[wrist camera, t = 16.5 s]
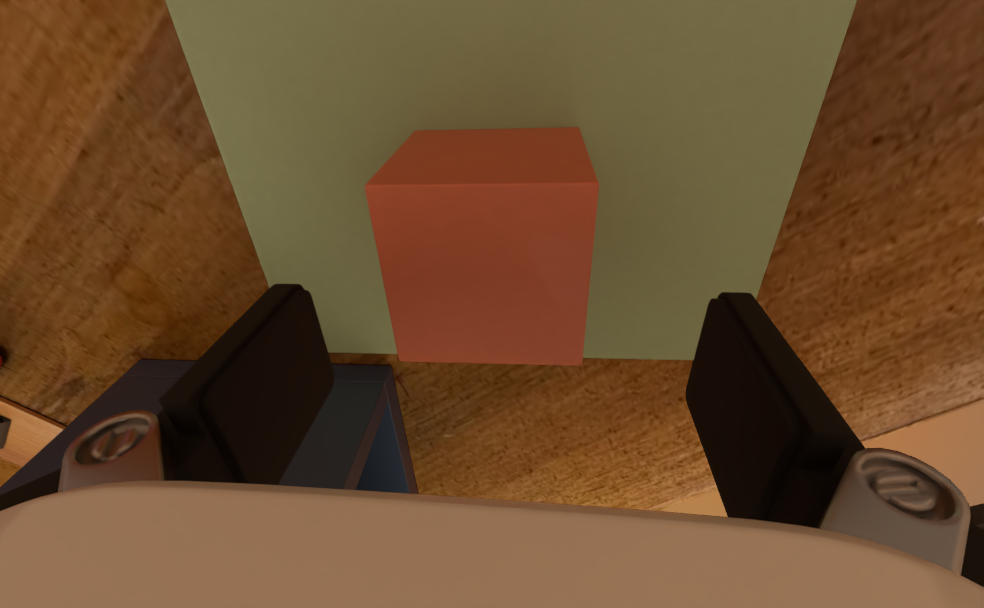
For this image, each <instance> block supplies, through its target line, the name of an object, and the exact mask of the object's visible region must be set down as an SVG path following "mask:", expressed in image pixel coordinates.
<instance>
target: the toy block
mask: <svg viewBox="0 0 984 608" xmlns="http://www.w3.org/2000/svg"><path fill="white" fill-rule="evenodd" d="M365 192H366V197H367V202H368V207H369V212H370V217H371V222H372V227H373V232H374V237H375V242H376V247H377V252H378V258H379V263H380V268H381V273H382V278H383V283H384V288H385V293H386V298H387V303H388V308H389V313H390V318H391V323H392V329H393V334H394V339H395V344H396V349H397V354H398V359H399V361H400V362H441V363H485V364H529V365H573V366H581V365H582V360H583V349H584V339H585V328H586V318H587V307H588V297H589V286H590V276H591V265H592V255H593V244H594V234H595V223H596V213H597V202H598V192H599V182H598V179H597V177H596V174H595V171H594V168H593V165H592V163H591V160H590V157H589V154H588V151H587V148H586V146H585V143H584V140H583V137H582V134H581V132H580V129H579V127H561V128H513V129H466V130H419V131H414V132H413V133H412V134H411V135H410V137H409V138H408V139H407V140H406V141H405V142H404V143H403V144H402V145H401V146H400V147H399V148H398V150H397V151H396V152H395V153H394V154H393V155H392V156H391V157H390V158H389V159H388V160H387V162H386V163H385V164H384V165H383V166H382V167H381V168H380V169H379V170H378V171H377V172H376V174H375V175H374V176H373V177H372V178H371V179H370V180H369V181H368V182H367V183H366V184H365Z"/></svg>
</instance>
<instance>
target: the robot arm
mask: <svg viewBox="0 0 984 608" xmlns="http://www.w3.org/2000/svg"><path fill="white" fill-rule="evenodd" d="M334 381H335V375H334V371H333V367H332V364H331V360H330V357H329V354H328V350H327V347H326V343H325V340H324V337H323V333H322V330H321V326H320V323H319V319H318V316H317V313H316V309H315V306H314V302H313V299H312V296H311V293H310V292H309V291H308V290H304V288H303V287H302V285H300V284H274V285H273V286H271V287H270V288H269V289H268V290H267V291H266V292H265V293H264V294H263V295H262V296H261V297H260V298H259V299H258V300H257V301H256V302H255V303H254V304H253V305H252V306H251V307H250V308H249V309H248V310H247V311H246V312H245V313H244V314H243V315H242V316H241V317H240V318H239V319H238V320H237V321H236V322H235V323H234V324H233V325H232V326H231V327H230V328H229V329H228V330H227V331H226V332H225V333H224V334H223V335H222V336H221V337H220V338H219V340H218V341H217V342H216V343H215V344H214V345H213V346H212V347H211V348H210V349H209V350H208V351H207V352H206V353H205V354H204V355H203V356H202V357H201V358H200V359H199V360H198V361H197V362H196V363H195V364H194V365H193V366H192V367H191V368H190V369H189V370H188V371H187V372H186V373H185V374H184V375H183V376H182V377H181V378H180V379H179V380H178V381H177V382H176V383H175V384H174V385H173V386H172V387H171V388H170V389H169V390H168V391H167V392H166V393H165V394H164V395H163V396H162V397H161V398H160V399H159V400H158V401H159V402H160V404H161V406H162V407H163V410H162V411H161V412H160V413H159V414H158V415H157V416H156V415H155V414H153V413H152V412H150V411H144V410H135V411H127V412H124V413H120V414H117V415H113V416H111V417H109V418H107V419H104V420H102V421H100V422H98V423H96V424H95V425H93V426H92V427H90V428H88V429H87V430H85V431H84V432H83V433H82V434H80V435H79V436H78V437H77V438H76V439H75V440H74V441H73V442H72V443H71V444H70V446H69V447H68V448H67V450H66V452H65V455H64V457H63V462H62V468H61V469H59V470H56V471H54V472H52V473H49V474H47V475H45V476H43V477H40V478H38V479H36V480H33V481H31V482H29V483H26V484H24V485H22V486H20V487H17V488H15V489H13V490H10V491H8V492H6V493H4V494H1V495H0V608H984V530H983V529H981V528H979V527H978V526H976V525H974V524H972V523H970V518H971V515H970V507H969V504H968V502H967V500H966V499H965V497H964V495H963V494H962V492H961V491H960V490H959V489H958V488H957V487H956V486H955V485H954V484H953V483H952V482H951V480H950V479H948V478H947V477H946V476H944V475H943V474H941V473H940V472H939V471H938V470H936V469H935V468H933V467H932V466H930V465H928V464H926V463H924V462H922V461H921V460H919V459H917V458H915V457H912V456H909V455H906V454H904V453H901V452H898V451H893V450H889V449H883V448H867V449H865V447H864V446H863V445H862V443H861V442H860V441H859V439H858V438H857V436H856V435H855V434H854V432H853V431H852V430H851V428H850V427H849V426H848V424H847V423H846V421H845V420H844V419H843V417H842V416H841V415H840V413H839V412H838V411H837V409H836V408H835V406H834V405H833V404H832V402H831V401H830V400H829V398H828V397H827V395H826V394H825V393H824V391H823V390H822V389H821V387H820V386H819V385H818V383H817V382H816V380H815V379H814V378H813V376H812V375H811V374H810V372H809V371H808V370H807V368H806V367H805V365H804V364H803V363H802V361H801V360H800V359H799V358H798V357H797V355H796V354H795V353H794V351H793V350H792V348H791V347H790V346H789V344H788V343H787V342H786V340H785V339H784V337H783V336H782V335H781V333H780V332H779V331H778V329H777V328H776V327H775V325H774V324H773V322H772V321H771V320H770V318H769V317H768V316H767V314H766V313H765V311H764V310H763V309H762V307H761V306H760V305H759V303H758V302H757V301H756V299H755V298H754V296H753V295H752V294H751V293H741V292H722V293H720V294H719V296H718V297H717V298H712V299H711V300H710V301H709V303H708V307H707V311H706V314H705V318H704V322H703V326H702V330H701V334H700V337H699V341H698V345H697V349H696V353H695V357H694V361H693V364H692V368H691V372H690V376H689V380H688V384H687V388H686V401H687V405H688V408H689V410H690V413H691V416H692V419H693V421H694V424H695V427H696V430H697V432H698V435H699V438H700V441H701V444H702V446H703V449H704V452H705V455H706V457H707V460H708V463H709V466H710V468H711V471H712V474H713V477H714V480H715V482H716V485H717V488H718V491H719V493H720V496H721V499H722V502H723V504H724V507H725V510H726V512H727V515H728V517H720V516H707V515H696V514H685V513H674V512H663V511H650V510H636V509H622V508H609V507H595V506H581V505H567V504H554V503H540V502H526V501H512V500H497V499H482V498H468V497H453V496H438V495H423V494H408V493H393V492H378V491H362V490H346V489H330V488H313V487H297V486H281V485H278V484H279V482H280V480H281V478H282V477H283V475H284V473H285V471H286V470H287V468H288V466H289V464H290V463H291V461H292V459H293V457H294V455H295V454H296V452H297V450H298V448H299V447H300V445H301V443H302V441H303V440H304V438H305V436H306V434H307V433H308V431H309V429H310V427H311V425H312V424H313V422H314V420H315V418H316V417H317V415H318V413H319V411H320V410H321V408H322V406H323V404H324V403H325V401H326V399H327V397H328V395H329V394H330V392H331V390H332V388H333V386H334Z"/></svg>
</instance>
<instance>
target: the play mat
mask: <svg viewBox="0 0 984 608" xmlns="http://www.w3.org/2000/svg"><path fill="white" fill-rule="evenodd" d="M165 2H166V4H167V7H168V10H169V13H170V15H171V18H172V21H173V24H174V26H175V29H176V32H177V35H178V37H179V40H180V43H181V46H182V48H183V51H184V54H185V57H186V60H187V62H188V65H189V68H190V71H191V73H192V76H193V79H194V82H195V84H196V87H197V90H198V93H199V95H200V98H201V101H202V104H203V106H204V109H205V112H206V115H207V117H208V120H209V123H210V126H211V129H212V131H213V134H214V137H215V140H216V142H217V145H218V148H219V151H220V153H221V156H222V159H223V162H224V164H225V167H226V170H227V173H228V175H229V178H230V181H231V184H232V186H233V189H234V192H235V195H236V198H237V200H238V203H239V206H240V209H241V211H242V214H243V217H244V220H245V222H246V225H247V228H248V231H249V233H250V236H251V239H252V242H253V244H254V247H255V250H256V253H257V255H258V258H259V261H260V264H261V267H262V269H263V272H264V275H265V278H266V280H267V283H268V286H269V288H270V287H271V286H273V285H274V284H300V285H302V287H303V288H304V290H308V291H309V292H310V293H311V296H312V299H313V302H314V306H315V309H316V313H317V316H318V319H319V323H320V326H321V330H322V333H323V337H324V340H325V343H326V347H327V350H328V353H371V354H397V349H396V344H395V339H394V334H393V329H392V323H391V318H390V313H389V308H388V303H387V298H386V293H385V288H384V283H383V278H382V273H381V268H380V263H379V258H378V252H377V247H376V242H375V237H374V232H373V227H372V222H371V217H370V212H369V207H368V202H367V197H366V192H365V184H366V183H367V182H368V181H369V180H370V179H371V178H372V177H373V176H374V175H375V174H376V172H377V171H378V170H379V169H380V168H381V167H382V166H383V165H384V164H385V163H386V162H387V160H388V159H389V158H390V157H391V156H392V155H393V154H394V153H395V152H396V151H397V150H398V148H399V147H400V146H401V145H402V144H403V143H404V142H405V141H406V140H407V139H408V138H409V137H410V135H411V134H412V133H413V132H414V131H419V130H466V129H513V128H561V127H579V129H580V132H581V134H582V137H583V140H584V143H585V146H586V148H587V151H588V154H589V157H590V160H591V163H592V165H593V168H594V171H595V174H596V177H597V179H598V182H599V192H598V202H597V213H596V223H595V234H594V244H593V255H592V265H591V276H590V286H589V297H588V307H587V318H586V328H585V339H584V349H583V358H609V359H656V360H694V357H695V353H696V349H697V345H698V341H699V337H700V334H701V330H702V326H703V322H704V318H705V314H706V311H707V307H708V303H709V301H710V300H711V299H712V298H717V297H718V296H719V294H720V293H722V292H741V293H751V294H752V295H753V296H754V298H755V299H756V298H757V295H758V292H759V289H760V286H761V283H762V280H763V277H764V274H765V271H766V268H767V265H768V262H769V259H770V256H771V253H772V250H773V247H774V244H775V241H776V238H777V235H778V232H779V229H780V227H781V224H782V221H783V218H784V215H785V212H786V209H787V206H788V203H789V200H790V197H791V194H792V191H793V188H794V185H795V182H796V179H797V176H798V173H799V170H800V167H801V164H802V161H803V158H804V156H805V153H806V150H807V147H808V144H809V141H810V138H811V135H812V132H813V129H814V126H815V123H816V120H817V117H818V114H819V111H820V108H821V105H822V102H823V99H824V96H825V93H826V90H827V87H828V84H829V82H830V79H831V76H832V73H833V70H834V67H835V64H836V61H837V58H838V55H839V52H840V49H841V46H842V43H843V40H844V37H845V34H846V31H847V28H848V25H849V22H850V19H851V16H852V13H853V10H854V8H855V5H856V2H857V0H165Z"/></svg>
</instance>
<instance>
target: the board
mask: <svg viewBox="0 0 984 608" xmlns="http://www.w3.org/2000/svg"><path fill="white" fill-rule="evenodd" d="M65 428H66V426H64V425H62V424H59V423H57V422H55V421H53V420H51V419H48V418H46V417H44V416H42V415H40V414H38V413H35V412H33V411H31V410H29V409H27V408H24V407H22V406H20V405H18V404H16V403H13V402H11V401H9V400H7V399H5V398H2V397H0V458H1V459H4V460H6V461H9V462H11V463H13V464H16V465H18V466H20V467H23V466H24V465H25V464H26V463H27V462H29V461H30V460H31V459H32V458H33V457H34V456H35V455H36V454H37V453H38V452H40V451H41V450H42V449H43V448H44V447H45V446H46V445H47V444H48V443H49V442H50V441H52V440H53V439H54V438H55V437H56V436H57V435H58V434H59V433H60V432H61V431H63V430H64V429H65Z"/></svg>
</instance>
